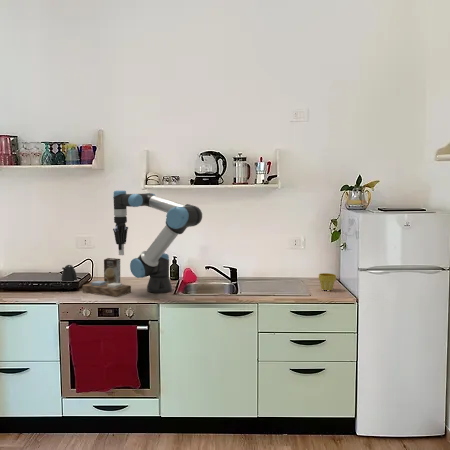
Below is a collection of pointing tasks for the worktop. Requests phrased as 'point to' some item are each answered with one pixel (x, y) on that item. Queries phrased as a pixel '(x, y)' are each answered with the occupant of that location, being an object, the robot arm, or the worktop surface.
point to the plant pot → (327, 281)
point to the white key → (114, 285)
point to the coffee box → (112, 270)
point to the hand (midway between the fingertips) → (121, 255)
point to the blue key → (98, 283)
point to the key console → (106, 289)
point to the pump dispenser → (68, 273)
